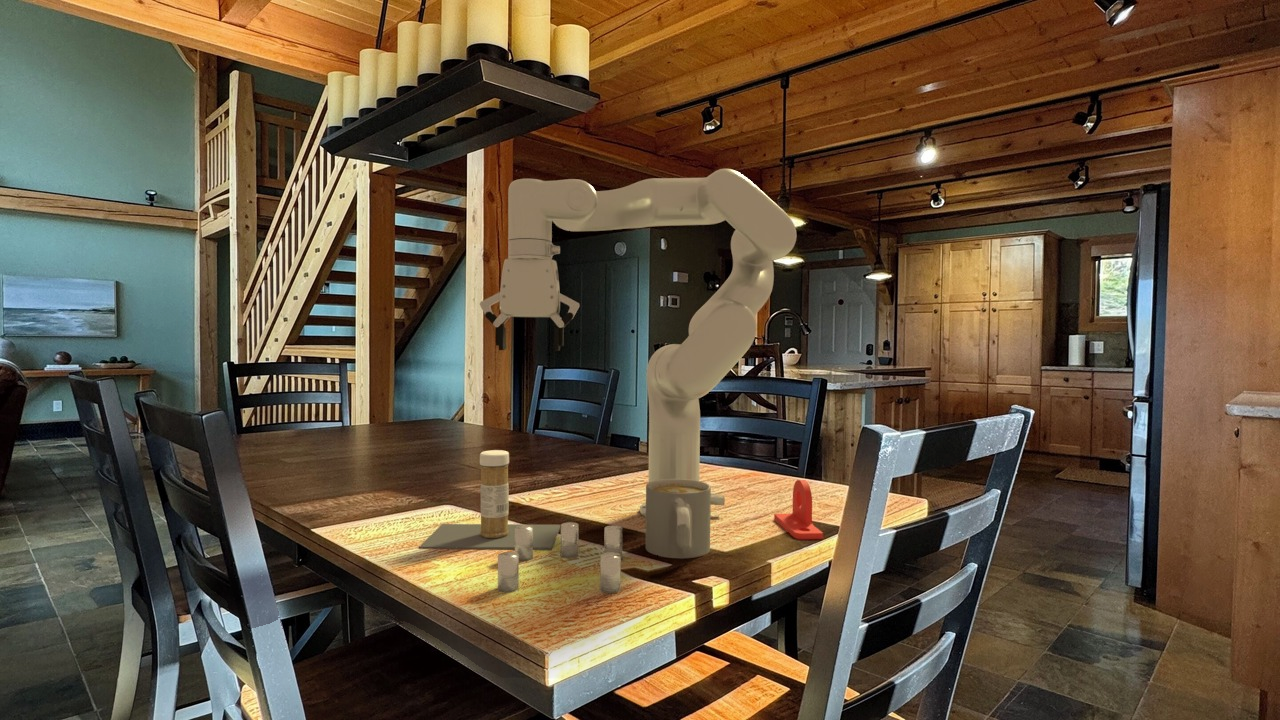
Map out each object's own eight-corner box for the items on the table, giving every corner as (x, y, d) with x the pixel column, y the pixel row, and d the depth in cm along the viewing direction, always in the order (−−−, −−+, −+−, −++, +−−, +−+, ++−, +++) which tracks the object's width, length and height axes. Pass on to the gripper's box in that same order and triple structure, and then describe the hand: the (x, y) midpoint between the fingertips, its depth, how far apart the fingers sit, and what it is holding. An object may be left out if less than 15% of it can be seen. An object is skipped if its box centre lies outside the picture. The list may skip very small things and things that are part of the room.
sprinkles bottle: (501, 529, 108) (502, 448, 108) (513, 536, 105) (513, 452, 104) (475, 533, 106) (475, 450, 105) (486, 541, 102) (486, 455, 101)
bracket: (774, 520, 119) (774, 476, 118) (798, 519, 119) (799, 476, 119) (796, 540, 107) (796, 492, 106) (823, 540, 107) (823, 491, 107)
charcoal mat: (560, 529, 111) (560, 524, 111) (551, 552, 99) (551, 547, 99) (442, 528, 111) (442, 524, 111) (419, 552, 99) (419, 546, 99)
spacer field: (622, 555, 98) (622, 522, 98) (620, 598, 82) (620, 559, 82) (518, 555, 98) (518, 522, 98) (495, 598, 82) (495, 558, 82)
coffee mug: (650, 538, 107) (650, 477, 107) (711, 541, 105) (712, 480, 105) (637, 566, 94) (637, 497, 93) (706, 571, 92) (707, 500, 92)
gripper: (581, 255, 118) (580, 350, 119) (485, 254, 118) (485, 349, 119) (577, 250, 111) (577, 351, 111) (475, 249, 111) (475, 350, 111)
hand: (529, 350), depth 115 cm, fingers open, 9 cm apart
